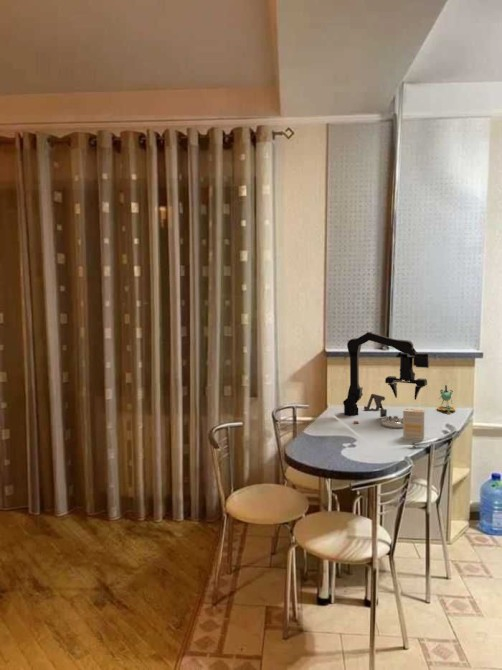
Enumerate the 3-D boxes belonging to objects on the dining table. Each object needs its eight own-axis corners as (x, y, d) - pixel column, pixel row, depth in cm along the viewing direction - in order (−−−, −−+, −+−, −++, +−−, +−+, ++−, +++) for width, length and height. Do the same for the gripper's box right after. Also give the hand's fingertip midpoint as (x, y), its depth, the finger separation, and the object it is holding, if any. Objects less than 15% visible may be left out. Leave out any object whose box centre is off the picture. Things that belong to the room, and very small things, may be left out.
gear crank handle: (412, 427, 230) (412, 418, 230) (387, 429, 229) (387, 419, 228) (393, 417, 251) (393, 408, 250) (370, 418, 249) (370, 409, 249)
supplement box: (424, 440, 215) (425, 409, 214) (423, 443, 211) (423, 412, 210) (404, 437, 219) (404, 408, 218) (402, 440, 214) (403, 410, 213)
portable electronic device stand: (363, 410, 272) (363, 394, 271) (375, 408, 275) (375, 393, 275) (375, 413, 264) (375, 397, 263) (386, 411, 268) (386, 396, 267)
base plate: (359, 434, 224) (359, 430, 224) (350, 421, 248) (350, 417, 248) (428, 434, 223) (428, 430, 223) (413, 421, 247) (413, 417, 247)
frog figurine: (433, 413, 262) (434, 385, 263) (437, 410, 279) (438, 383, 279) (453, 415, 258) (454, 386, 259) (456, 411, 274) (457, 384, 275)
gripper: (430, 366, 246) (429, 397, 247) (391, 363, 256) (391, 394, 257) (424, 368, 237) (424, 401, 238) (385, 366, 246) (384, 397, 248)
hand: (405, 398), depth 245 cm, fingers open, 9 cm apart
